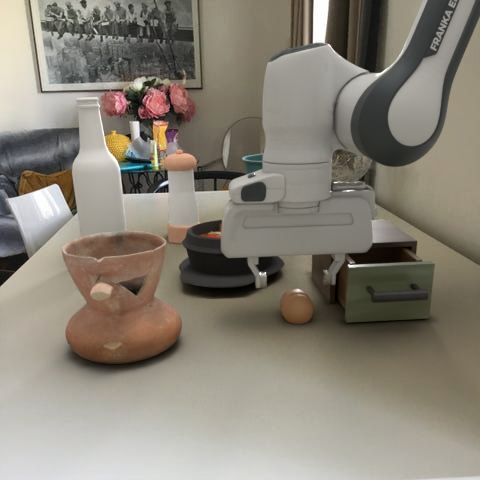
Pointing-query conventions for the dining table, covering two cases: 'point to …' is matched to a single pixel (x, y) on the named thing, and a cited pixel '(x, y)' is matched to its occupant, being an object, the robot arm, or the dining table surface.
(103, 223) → the alcohol
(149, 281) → the ceramic jug
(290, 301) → the egg
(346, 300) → the drawer
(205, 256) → the casserole
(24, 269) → the dining table surface
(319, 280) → the cabinet
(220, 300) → the dining table surface
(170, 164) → the salt shaker
